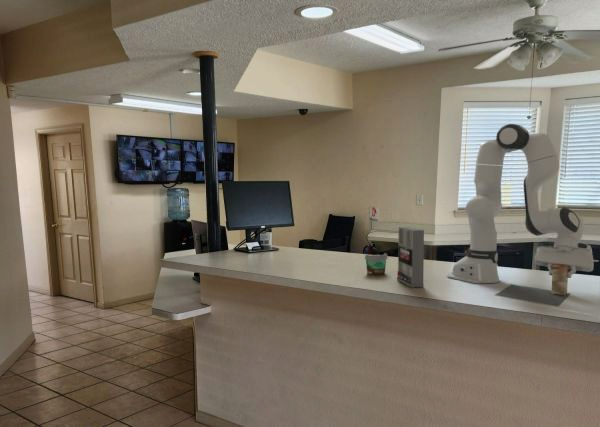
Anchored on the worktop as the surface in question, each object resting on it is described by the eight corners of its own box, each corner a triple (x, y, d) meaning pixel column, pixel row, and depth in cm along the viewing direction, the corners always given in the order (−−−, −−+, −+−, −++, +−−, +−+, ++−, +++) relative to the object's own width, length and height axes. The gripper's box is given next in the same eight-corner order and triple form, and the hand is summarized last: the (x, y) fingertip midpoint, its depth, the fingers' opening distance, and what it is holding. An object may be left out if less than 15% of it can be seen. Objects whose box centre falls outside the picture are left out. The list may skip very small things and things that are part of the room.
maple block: (551, 293, 163) (552, 266, 162) (554, 291, 166) (555, 264, 165) (564, 295, 160) (565, 267, 159) (567, 293, 163) (568, 265, 162)
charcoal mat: (494, 296, 163) (494, 295, 163) (511, 285, 179) (511, 284, 179) (558, 307, 148) (558, 306, 148) (570, 294, 164) (570, 293, 164)
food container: (371, 277, 197) (371, 256, 196) (364, 274, 202) (364, 254, 202) (392, 274, 202) (392, 254, 201) (385, 272, 207) (385, 252, 207)
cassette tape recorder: (396, 280, 190) (396, 227, 188) (408, 279, 192) (408, 226, 189) (410, 288, 177) (411, 230, 175) (423, 287, 178) (424, 230, 176)
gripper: (536, 240, 174) (529, 267, 167) (595, 246, 160) (589, 275, 153) (538, 249, 177) (531, 276, 171) (596, 255, 163) (591, 284, 157)
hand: (559, 275), depth 162 cm, fingers closed on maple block, 4 cm apart
